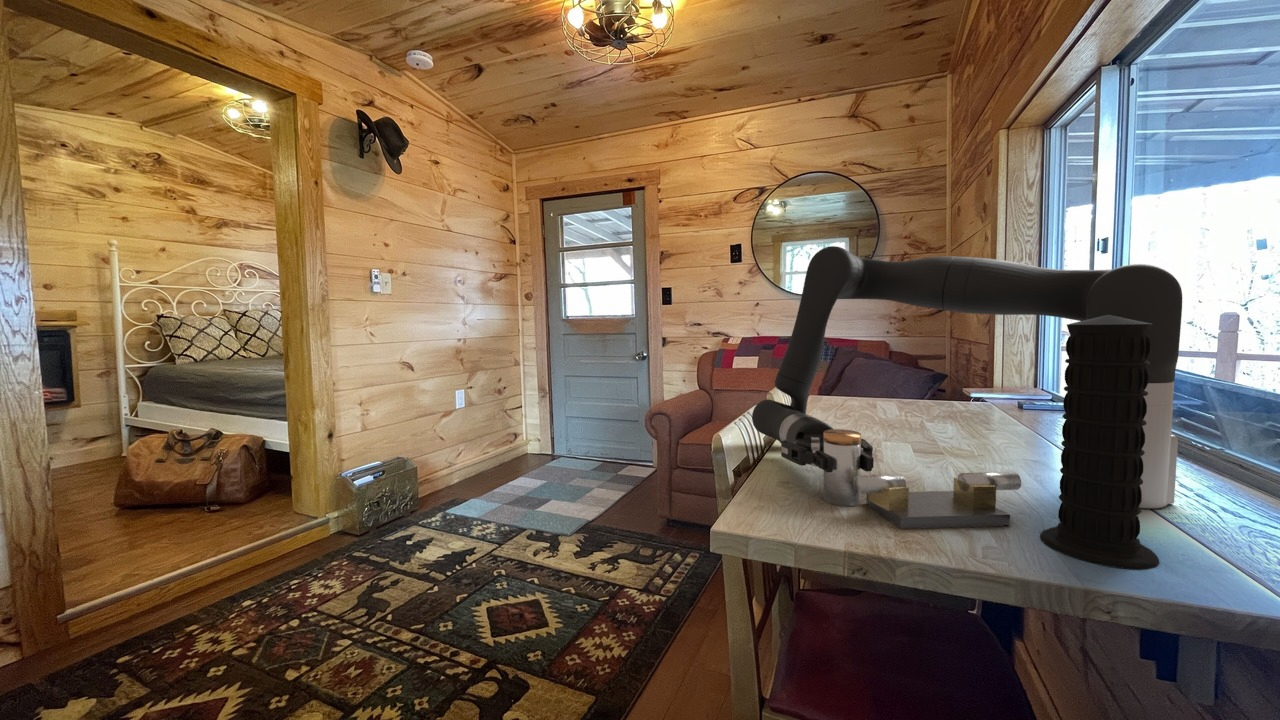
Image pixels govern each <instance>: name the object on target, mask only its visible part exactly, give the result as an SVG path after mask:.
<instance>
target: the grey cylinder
mask: <svg viewBox="0 0 1280 720" xmlns="http://www.w3.org/2000/svg"><path fill="white" fill-rule="evenodd" d="M861 439H862V433H861V432H858V431H857V430H856V431H855V430H852V429H842V428H841V429H840V428H839V429H838V428H837V429H836V428H835V429H834V428H833V429H832V430H826V431H824V432H823V441H824V453H826V454H828V455H829V456H831V457H832V459H833V471H832V472H825V471H824V470H823V481H822V482H823V490H822V491H823V494H822V495H823V501H824V502H826V503H828V504H830V505H834V506H838V507H855V506H858V505H860V504H861V494H857V493H856V492H855V490H854V486H853V479H854V476H859V475H861V468H860V466H861Z"/></svg>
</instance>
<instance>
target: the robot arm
mask: <svg viewBox="0 0 1280 720" xmlns="http://www.w3.org/2000/svg"><path fill="white" fill-rule="evenodd" d="M803 282H804V283H803V287H802V293H801V298H800V302H799V307H798V309H797V310H798V311H797V314H796V319H795V323H794V325H793V329H792V333H791V336H790V339H789V341H788V345H787V348H786V350H785V353H784V354H783V355H784V356H783V358H782V361H781V364H780V366H779V367H778V368H779V369H778V371H777V374H776V376H775V379H774V386H775V388H776V389H777V390H778V391H780V392H781V393H784V394H785V395H787V396H789V397H790V405H789V404H786V403H782V402H779V401H776V400H773V399H767V398H766V399H763V400H760V401H759V402H758V403H757V404H756V405H755V406H754V408H753V410H752V414H751V422H752V426H753V427H754V428H755V430H756V431H758V432H759V433H760V434H762V435H765V436H767V437H770V438H771V439H774V440H776V441H779V443H780V444H781V445H780V446H781V447H780V457H782V458H784V459H785V460H787V461H790V462H791V463H794V464H796V465H799V466H801V467H802V466H806V465H809V466H812V467H815V468H816V467H818V469H820V470H823V472H824V471H825V472H832V471H833V459H832V457H831V456H829V455H828V454H826V453H824V441H823V432H824V431H826V430H832V429H834V428H833V427H832V426H831V425H830V424H828V423H826V422H824V421H822V420H820V419H818V418H816V417H814V416H812V415H810V414H807V406H808V399H809V395H810V394H809V393H810V390H811V387H812V385H813V383H814V380H815V377H816V376H817V375H816V374H817V372H818V370H819V367H820V363H821V361H822V356H823V351H824V350H823V349H824V343H825V337H826V329H827V325H828V321H829V318H830V315H831V313H832V310H833V308H834V305H836V302H837V300H882V301H883V300H884V301H891V302H896V303H900V304H906V305H909V306H910V305H911V306H915V307H921V308H928V309H933V310H935V309H936V310H940V311H947V312H956V313H965V314H974V315H975V314H978V315H993V316H994V315H998V316H1000V315H1002V316H1003V315H1004V316H1005V315H1006V316H1007V315H1009V316H1020V315H1021V316H1022V315H1023V316H1024V315H1025V316H1027V315H1029V316H1031V315H1032V316H1033V315H1034V316H1046V317H1047V316H1048V317H1054V318H1061V319H1066V320H1073V321H1077V322H1080V321H1084V320H1088V319H1092V318H1097V317H1101V316H1105V315H1112V316H1117V317H1122V318H1126V319H1131V320H1136V321H1141V322H1146V323H1151V324H1152V326H1151V329H1150V332H1149V333H1148V334H1147V336H1148V338H1149V340H1150V353H1149V355H1148V357H1147V358H1146V361H1149V362H1150V364H1149V365H1147V366H1145V367H1146V369H1147V372H1148V375H1149V382H1148V385H1147V387H1146V389H1145V390H1144V391H1147V392H1148V395H1147V396H1143V397H1144V398H1145V400H1146V404H1147V413H1146V415H1145V417H1144V419H1143V420H1145V421H1146V423H1147V424H1146V425H1144V426H1142V427H1143V429H1144V433H1145V444H1144V446H1143V448H1142V450H1143V451H1144V452H1145V453H1144V455H1143V456H1141V457H1142V460H1143V474H1142V476H1141V479H1142V480H1143V484H1142V485H1140V488H1141V491H1142V501H1141V503H1140V505H1139V507H1140V508H1141V509H1161V508H1165V507H1167V505H1170V504H1175V496H1176V495H1175V494H1176V493H1175V492H1176V479H1177V477H1176V476H1177V460H1178V459H1177V458H1178V443H1179V438H1178V436H1176V435H1174V434H1172V430H1173V429H1172V427H1173V415H1174V413H1173V412H1174V411H1173V409H1174V394H1175V393H1174V392H1175V381H1176V380H1175V379H1176V369H1177V364H1178V360H1179V356H1180V355H1179V353H1180V340H1181V339H1180V337H1181V329H1182V327H1181V326H1182V315H1183V313H1182V312H1183V290H1182V287H1181V284H1180V282H1179V281H1178V279H1176V277H1175V276H1174V275H1173V274H1172V273H1170V271H1167V270H1166V269H1164V268H1161V267H1159V266H1156V265H1151V264H1145V263H1144V264H1143V263H1132V264H1127V265H1121V266H1118V267H1116V268H1115V267H1114V268H1112V269H1057V268H1056V269H1055V268H1047V267H1041V266H1040V267H1039V266H1035V265H1031V264H1025V263H1020V262H1013V261H1009V260H1002V259H1001V260H1000V259H995V258H984V257H970V256H956V255H955V256H953V255H952V256H951V255H950V256H947V255H946V256H932V257H925V258H924V257H922V258H918V259H911V260H905V261H903V260H902V261H888V260H879V259H871V258H867V257H866V258H865V257H861V256H858V255H854V253H851V251H849V250H847V249H845V248H843V247H841V246H837V245H836V246H835V245H831V246H827V247H823V248H822V249H819V251H817V252H816V253H815V254H814V255H813V256H812V258H811V259H810V260H809V263H808V265H807V270H806V274H805V278H804V281H803ZM873 451H874V447H873V446H872V445H871V444H870V443H869V442H868V441H867V440H866V439H864V438H861V466H860V470H863V471H864V472H872V471H873V469H874V457H873Z"/></svg>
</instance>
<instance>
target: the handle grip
mask: <svg viewBox="0 0 1280 720" xmlns="http://www.w3.org/2000/svg"><path fill="white" fill-rule="evenodd" d="M1151 326H1152V324H1151V323H1146V322H1141V321H1136V320H1131V319H1126V318H1122V317H1117V316H1112V315H1105V316H1101V317H1097V318H1092V319H1088V320H1084V321H1077V322H1071V323H1068V324H1066V327H1067V330H1068V332H1069V336H1068V338H1067V341H1066V342H1065V352H1066V355H1067V357H1068V358H1066V359H1065V360H1064V361H1065V363H1067V364H1068V365H1067V366H1066V367H1065V370H1064V381H1065V385H1066V386H1064V387H1063V390H1064V391H1065V392H1066V394H1065V395H1064V398H1063V410H1064V414H1062V418H1063V419H1064V423H1063V425H1062V428H1061V435H1062V438H1063V440H1062V441H1061V443H1060V444H1061V446H1062V447H1063V450H1062V451H1061V454H1060V463H1061V468H1060V469H1059V471H1060V473H1061V474H1062V475H1061V477H1060V480H1059V490H1060V494H1059V495H1058V499H1059V501H1060V506H1059V507H1058V513H1057V514H1058V515H1057V516H1058V520H1059V523H1058V524H1057V525H1056V526H1054V527H1049V528H1046V529H1044V530H1043V531H1042V532H1041V533H1040V535H1039V539H1040V538H1041V539H1040V540H1041V542H1042V543H1043V544H1044V545H1046V546H1047V545H1048V546H1047V547H1049V548H1050V549H1052V550H1055V551H1057V552H1059V553H1061V554H1063V555H1066V556H1069V557H1071V558H1074V559H1077V560H1081V561H1084V562H1087V563H1091V564H1094V565H1101V566H1105V567H1111V568H1117V569H1123V570H1150V569H1153V568H1157V567H1158V566H1159V565H1160V564H1161V561H1160V559H1159V557H1158V556H1157V554H1156V553H1155V552H1154V551H1153V550H1152V549H1150V548H1149V547H1147V546H1146V545H1143V544H1142V543H1141V542H1140V541H1141V540H1140V539H1139V538H1138V537H1139V535H1140V534H1141V522H1140V519H1139V516H1138V515H1140V514H1141V513H1142V508H1140V507H1139V505H1140V503H1141V501H1142V491H1141V488H1140V485H1142V484H1143V480H1142V479H1141V476H1142V474H1143V460H1142V457H1141V456H1143V455H1144V453H1145V452H1144V451H1143V450H1142V448H1143V446H1144V444H1145V433H1144V429H1143V427H1142V426H1144V425H1146V424H1147V423H1146V421H1145V420H1143V419H1144V417H1145V415H1146V413H1147V404H1146V400H1145V398H1144V397H1143V396H1147V395H1148V392H1147V391H1144V390H1145V389H1146V387H1147V385H1148V382H1149V375H1148V372H1147V369H1146V367H1145V366H1147V365H1149V364H1150V362H1149V361H1146V358H1147V357H1148V355H1149V353H1150V340H1149V338H1148V336H1147V334H1148V333H1149V332H1150V329H1151Z"/></svg>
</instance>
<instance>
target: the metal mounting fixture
mask: <svg viewBox="0 0 1280 720" xmlns="http://www.w3.org/2000/svg"><path fill="white" fill-rule="evenodd" d="M853 486H854V490H855V492H856V493H857V494H860V495H864V494H865V495H866V499H865V501H866V505H868V506H869V507H871V509H873V510H875V511H876V512H878V513H879V514H880V515H882V516H883V517H884V518H885V519H886V520H888V521H889V522H890V523H892V524H893V525H894V526H896V527H897V528H898V529H901V530H905V529H906V530H908V529H911V530H912V529H913V530H914V529H915V530H916V529H944V528H945V529H946V528H947V529H948V528H949V529H950V528H951V529H952V528H979V527H980V528H981V527H982V528H983V527H1005V526H1004V525H1011V524H1010V523H1011V514H1010V513H1008V512H1007V511H1004V510H1002V509H1000V508H998V507H996V506H997V505H996V502H997V498H996V497H997V491H1017V490H1019V489H1021V487H1022V479H1021V476H1020V474H1019V473H1017V472H1015V471H992V472H991V471H987V472H986V471H985V472H983V471H982V472H960V473H959V474H958V476H957V477H955V476H954V477H953V487H952V488H953V490H941V491H939V490H937V491H935V490H934V491H909V489H910V488H909V486H907V482H906V479H905V477H904V475H902V474H869V475H866V474H863V475H862V474H860V475H859V476H854V479H853Z"/></svg>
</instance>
